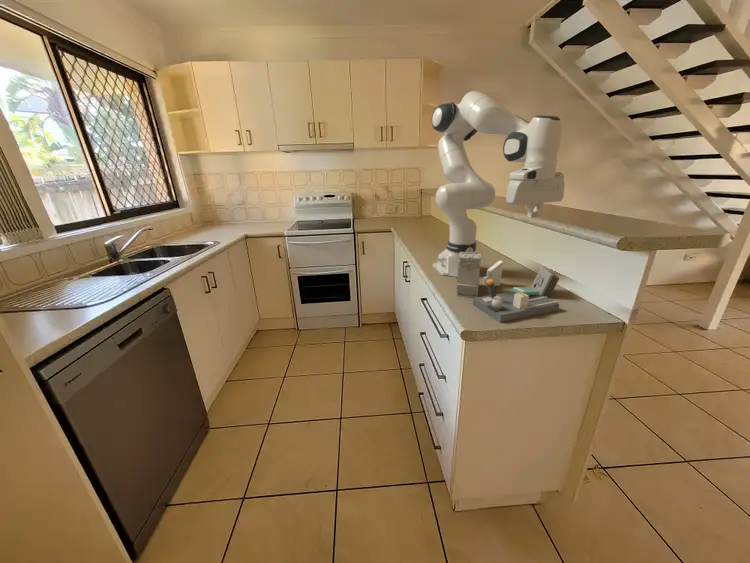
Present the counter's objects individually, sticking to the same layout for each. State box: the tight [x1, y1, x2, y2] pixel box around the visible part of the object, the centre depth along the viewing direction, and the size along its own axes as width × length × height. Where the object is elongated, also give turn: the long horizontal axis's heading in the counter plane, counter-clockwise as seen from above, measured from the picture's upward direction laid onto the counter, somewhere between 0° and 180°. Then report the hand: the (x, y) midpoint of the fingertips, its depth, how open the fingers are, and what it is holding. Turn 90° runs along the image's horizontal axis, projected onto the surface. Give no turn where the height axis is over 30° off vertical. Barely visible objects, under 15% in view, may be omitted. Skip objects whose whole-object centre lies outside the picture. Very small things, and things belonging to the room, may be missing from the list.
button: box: [491, 298, 503, 309], centre depth 99 cm, size 3×3×2 cm
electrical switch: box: [530, 266, 560, 298], centre depth 114 cm, size 9×5×9 cm, turn 173°
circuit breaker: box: [455, 251, 482, 298], centre depth 118 cm, size 8×14×15 cm, turn 163°
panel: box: [472, 290, 560, 323], centre depth 104 cm, size 14×23×3 cm, turn 108°
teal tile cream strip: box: [511, 286, 540, 295], centre depth 108 cm, size 8×5×1 cm, turn 108°
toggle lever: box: [486, 279, 497, 298], centre depth 104 cm, size 2×2×6 cm
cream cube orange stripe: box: [513, 293, 529, 309], centre depth 99 cm, size 3×3×4 cm
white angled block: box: [482, 259, 504, 287], centre depth 124 cm, size 4×10×9 cm, turn 110°
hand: (532, 217), depth 102 cm, fingers closed
